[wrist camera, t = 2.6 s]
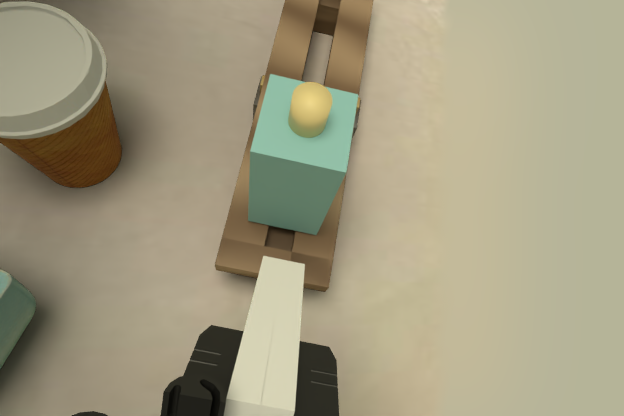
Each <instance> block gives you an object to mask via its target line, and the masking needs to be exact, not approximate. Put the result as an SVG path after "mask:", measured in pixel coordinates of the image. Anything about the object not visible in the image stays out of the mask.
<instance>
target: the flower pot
mask: <svg viewBox="0 0 624 416" xmlns="http://www.w3.org/2000/svg"><path fill="white" fill-rule="evenodd" d="M35 309H36V301H35V298H34V296H33V295H32V294H31V292H30V291H28V290H27V289H26V288H25V287H24V286H23V285H22V284H21V283H19V282H18V281H17V280H16V279H15V278H14V277H12V276H11V275H10V274H9V273H7V272H6V271H4V270H2V269H0V369H1V367H2V366H3V364H4V362H5V361H6V359H7V357H8V356H9V354H10V353H11V351H12V349H13V348H14V346H15V345H16V343H17V341H18V340H19V338H20V337H21V335H22V333H23V332H24V330H25V329H26V327H27V325H28V324H29V322H30V321H31V319H32V317H33V315H34V313H35Z"/></svg>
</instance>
